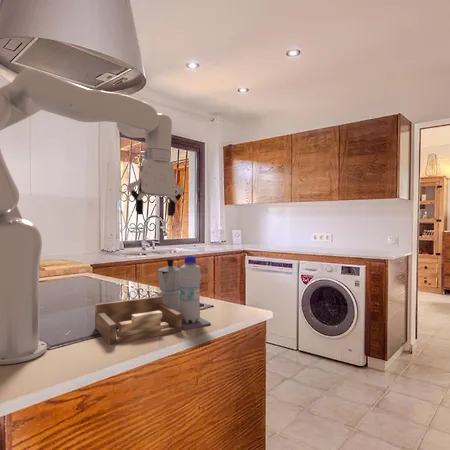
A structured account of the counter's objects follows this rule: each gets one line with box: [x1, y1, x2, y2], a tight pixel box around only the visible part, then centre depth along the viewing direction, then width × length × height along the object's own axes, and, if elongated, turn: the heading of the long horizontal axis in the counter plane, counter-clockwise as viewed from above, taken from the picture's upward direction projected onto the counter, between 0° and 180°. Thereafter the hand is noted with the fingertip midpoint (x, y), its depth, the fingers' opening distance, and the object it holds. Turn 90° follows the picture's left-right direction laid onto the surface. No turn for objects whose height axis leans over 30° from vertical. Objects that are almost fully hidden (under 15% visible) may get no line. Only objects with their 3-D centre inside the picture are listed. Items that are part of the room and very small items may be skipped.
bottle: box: [179, 255, 202, 324], centre depth 107 cm, size 7×7×20 cm
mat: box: [182, 317, 212, 331], centre depth 107 cm, size 9×9×1 cm
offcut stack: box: [116, 311, 169, 337], centre depth 97 cm, size 14×2×6 cm, turn 123°
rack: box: [94, 295, 183, 346], centre depth 101 cm, size 20×15×7 cm
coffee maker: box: [157, 258, 181, 312], centre depth 120 cm, size 15×9×18 cm, turn 167°
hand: (155, 214), depth 105 cm, fingers open, 9 cm apart
